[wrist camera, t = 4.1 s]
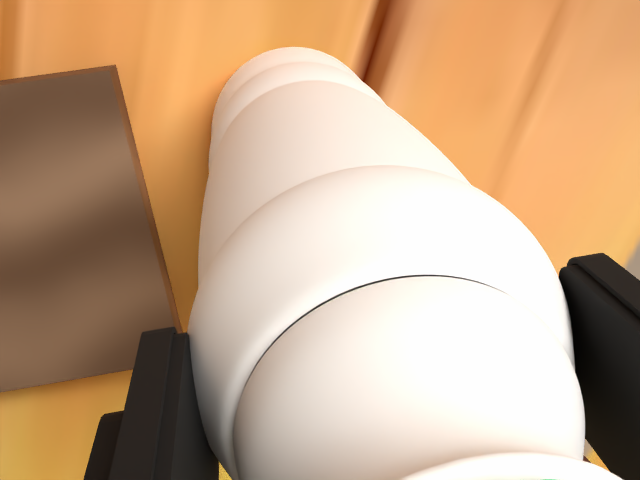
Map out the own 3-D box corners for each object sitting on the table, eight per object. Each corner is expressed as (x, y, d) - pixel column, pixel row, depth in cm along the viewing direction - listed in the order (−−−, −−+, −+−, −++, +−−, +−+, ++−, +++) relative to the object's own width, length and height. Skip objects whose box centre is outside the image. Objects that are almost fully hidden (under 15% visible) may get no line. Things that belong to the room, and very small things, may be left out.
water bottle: (372, 42, 26) (1267, 541, 4) (367, 197, 29) (841, 1008, 6) (206, 45, 25) (-1, 721, 3) (218, 204, 28) (165, 1165, 6)
